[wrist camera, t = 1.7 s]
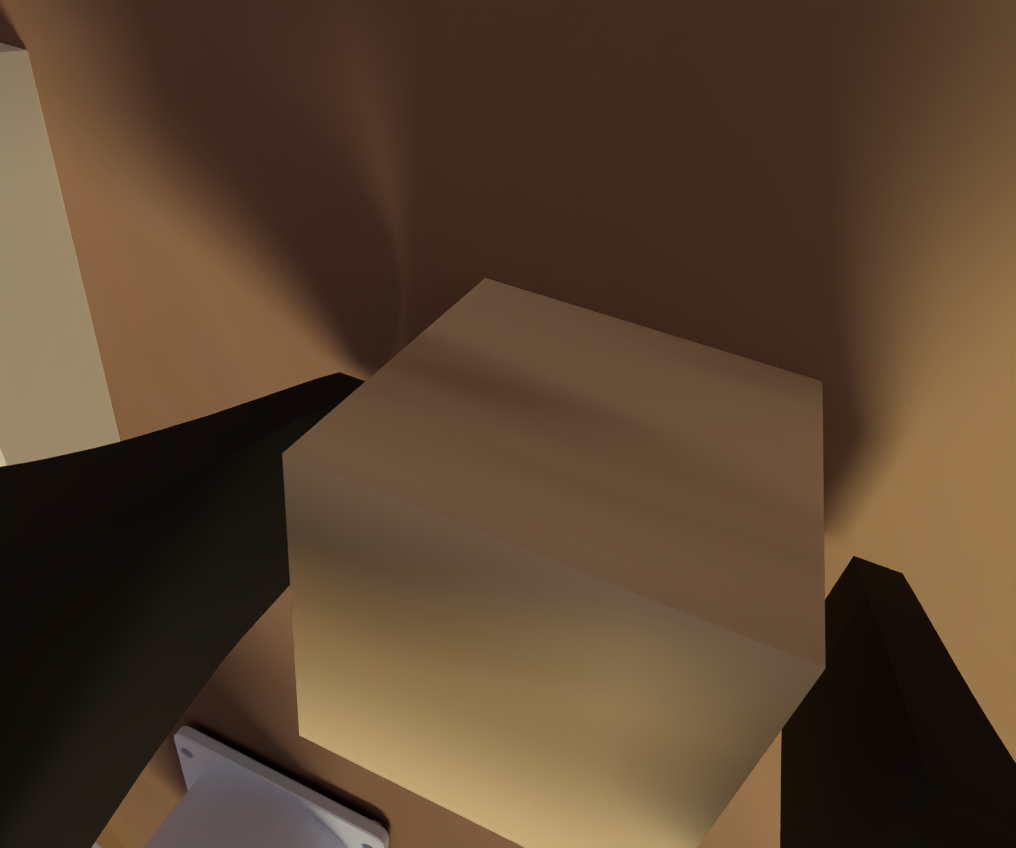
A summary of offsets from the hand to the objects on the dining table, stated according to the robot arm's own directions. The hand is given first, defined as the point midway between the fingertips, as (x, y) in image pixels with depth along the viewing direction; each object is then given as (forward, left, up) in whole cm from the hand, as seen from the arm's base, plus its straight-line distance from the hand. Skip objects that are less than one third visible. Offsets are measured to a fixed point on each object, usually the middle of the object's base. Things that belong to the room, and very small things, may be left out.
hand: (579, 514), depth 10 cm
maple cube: (0, 0, -2) cm, 2 cm away
